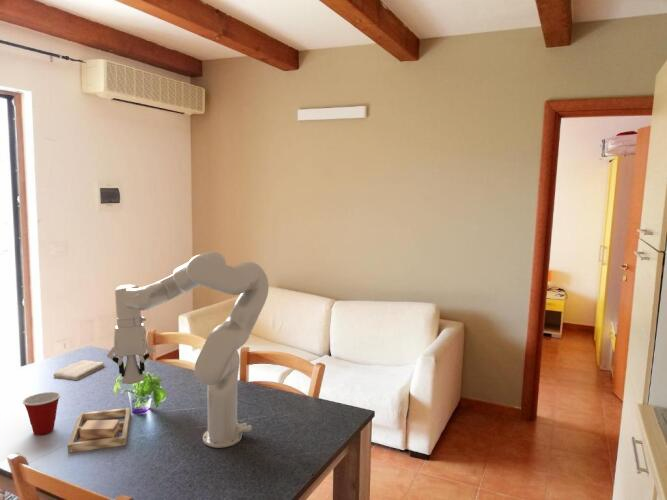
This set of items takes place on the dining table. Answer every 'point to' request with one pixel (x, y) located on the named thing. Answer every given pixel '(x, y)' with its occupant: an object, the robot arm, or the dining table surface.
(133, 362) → the flask
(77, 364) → the washcloth
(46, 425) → the plastic cup
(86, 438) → the offcut lower
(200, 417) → the dining table surface
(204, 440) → the robot arm
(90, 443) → the wooden tray
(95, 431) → the offcut upper
